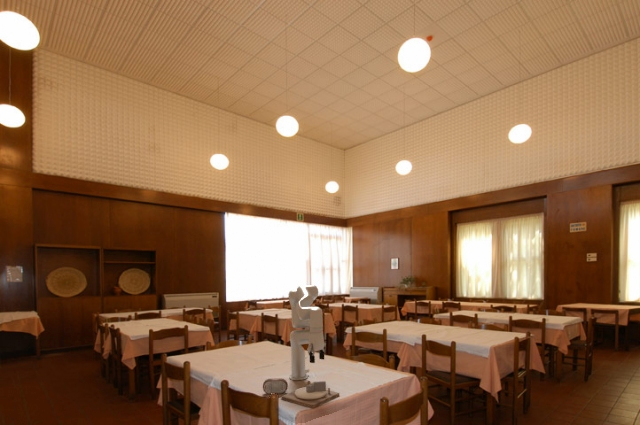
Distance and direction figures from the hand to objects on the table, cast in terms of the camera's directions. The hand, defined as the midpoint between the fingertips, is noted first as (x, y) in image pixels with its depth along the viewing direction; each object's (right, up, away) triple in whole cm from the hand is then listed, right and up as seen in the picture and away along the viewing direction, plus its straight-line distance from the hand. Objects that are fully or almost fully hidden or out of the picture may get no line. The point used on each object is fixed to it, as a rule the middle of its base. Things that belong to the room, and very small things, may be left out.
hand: (317, 360), depth 218 cm
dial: (-4, -21, +3) cm, 21 cm away
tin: (-25, -24, +11) cm, 37 cm away
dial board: (-4, -22, +3) cm, 23 cm away
